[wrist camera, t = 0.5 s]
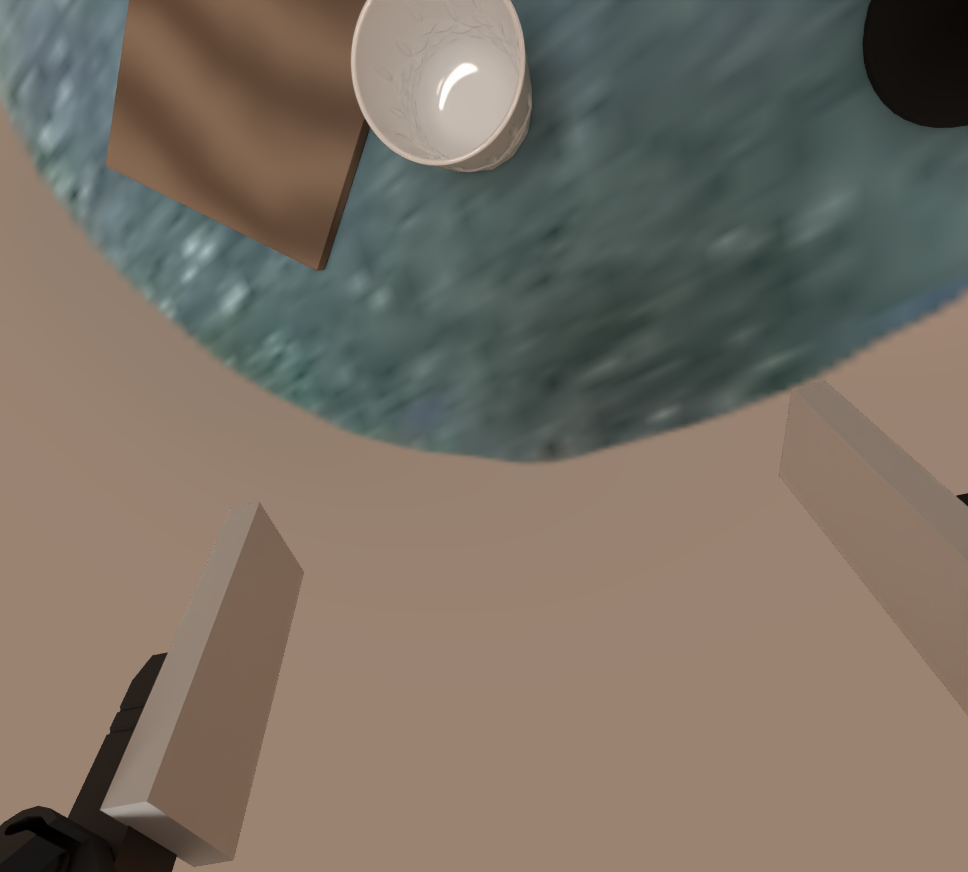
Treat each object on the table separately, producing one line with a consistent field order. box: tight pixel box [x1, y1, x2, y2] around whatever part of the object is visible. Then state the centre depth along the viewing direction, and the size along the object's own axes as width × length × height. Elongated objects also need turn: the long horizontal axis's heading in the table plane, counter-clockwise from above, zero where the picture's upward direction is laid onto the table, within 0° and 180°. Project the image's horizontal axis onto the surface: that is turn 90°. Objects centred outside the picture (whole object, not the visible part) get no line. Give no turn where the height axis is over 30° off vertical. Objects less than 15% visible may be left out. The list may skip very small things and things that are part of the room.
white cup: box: [351, 0, 533, 172], centre depth 29 cm, size 8×8×10 cm
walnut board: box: [106, 0, 370, 271], centre depth 34 cm, size 20×16×1 cm
